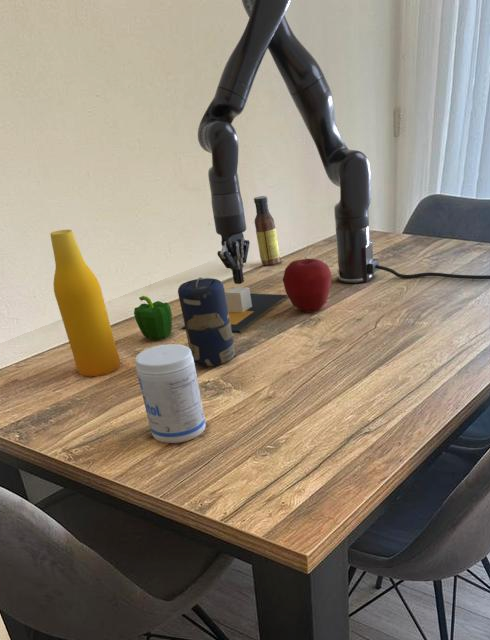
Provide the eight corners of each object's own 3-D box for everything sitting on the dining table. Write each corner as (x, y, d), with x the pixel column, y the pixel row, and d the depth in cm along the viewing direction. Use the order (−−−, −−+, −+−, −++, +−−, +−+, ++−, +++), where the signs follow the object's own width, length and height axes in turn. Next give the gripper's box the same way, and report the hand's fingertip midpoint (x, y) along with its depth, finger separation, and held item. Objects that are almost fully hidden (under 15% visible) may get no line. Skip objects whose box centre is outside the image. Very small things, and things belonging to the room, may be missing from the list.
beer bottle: (104, 378, 143) (64, 237, 127) (69, 375, 146) (26, 237, 130) (129, 362, 150) (94, 226, 134) (95, 359, 153) (57, 226, 137)
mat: (288, 296, 182) (287, 294, 181) (239, 332, 160) (238, 330, 160) (236, 294, 187) (236, 292, 187) (182, 329, 166) (182, 327, 166)
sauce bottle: (282, 260, 216) (274, 194, 205) (279, 265, 211) (270, 198, 200) (262, 261, 217) (253, 195, 206) (258, 266, 211) (249, 199, 201)
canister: (243, 353, 148) (230, 271, 139) (224, 370, 141) (209, 285, 131) (205, 351, 151) (189, 271, 142) (184, 368, 144) (166, 284, 134)
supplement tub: (141, 436, 118) (121, 358, 110) (183, 415, 124) (167, 339, 116) (176, 450, 113) (157, 369, 105) (218, 428, 119) (203, 349, 111)
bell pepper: (182, 335, 162) (174, 294, 157) (154, 345, 157) (144, 304, 152) (162, 329, 167) (153, 289, 162) (134, 339, 162) (124, 298, 157)
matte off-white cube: (249, 287, 173) (240, 293, 169) (252, 306, 175) (243, 312, 171) (232, 286, 174) (223, 292, 171) (235, 305, 177) (226, 311, 173)
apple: (279, 317, 168) (272, 263, 161) (298, 302, 177) (292, 250, 170) (323, 319, 164) (318, 263, 156) (340, 304, 172) (336, 251, 165)
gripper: (228, 217, 157) (239, 291, 166) (254, 206, 167) (263, 276, 177) (201, 217, 160) (213, 290, 169) (228, 206, 170) (238, 275, 179)
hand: (239, 282), depth 173 cm, fingers closed
